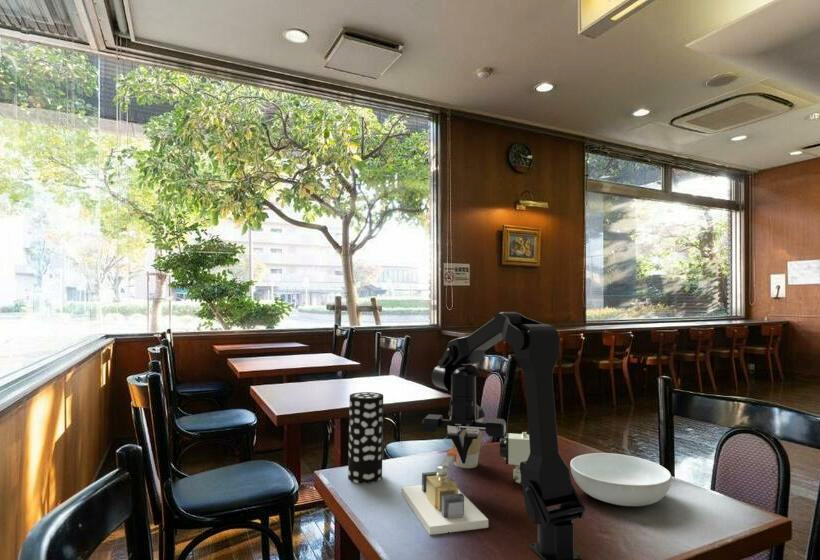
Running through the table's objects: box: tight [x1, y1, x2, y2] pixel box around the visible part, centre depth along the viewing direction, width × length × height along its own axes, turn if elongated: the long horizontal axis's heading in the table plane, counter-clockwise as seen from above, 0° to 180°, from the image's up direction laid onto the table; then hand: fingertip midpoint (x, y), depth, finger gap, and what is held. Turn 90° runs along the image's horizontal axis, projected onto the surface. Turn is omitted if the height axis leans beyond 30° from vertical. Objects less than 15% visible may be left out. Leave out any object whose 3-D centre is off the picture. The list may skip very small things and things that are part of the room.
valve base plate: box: [400, 484, 489, 536], centre depth 103 cm, size 20×12×2 cm, turn 16°
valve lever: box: [436, 447, 460, 481], centre depth 109 cm, size 14×2×3 cm, turn 162°
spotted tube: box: [347, 391, 384, 484], centre depth 121 cm, size 8×8×20 cm
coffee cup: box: [447, 405, 486, 469], centre depth 131 cm, size 10×10×15 cm
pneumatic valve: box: [499, 431, 530, 485], centre depth 119 cm, size 6×12×12 cm, turn 78°
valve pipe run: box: [421, 471, 465, 519], centre depth 103 cm, size 16×5×4 cm, turn 16°
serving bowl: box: [569, 452, 672, 507], centre depth 110 cm, size 21×21×7 cm
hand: (463, 463), depth 112 cm, fingers closed
